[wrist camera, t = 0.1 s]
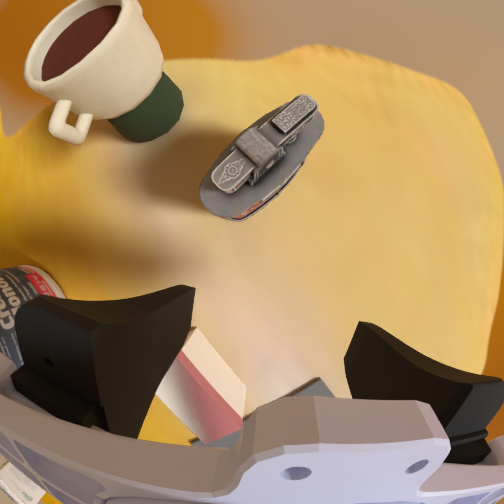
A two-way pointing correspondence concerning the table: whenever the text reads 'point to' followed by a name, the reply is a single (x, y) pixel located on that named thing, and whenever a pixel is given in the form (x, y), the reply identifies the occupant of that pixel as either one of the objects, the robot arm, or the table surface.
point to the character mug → (103, 72)
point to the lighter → (262, 160)
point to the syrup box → (19, 485)
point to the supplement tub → (20, 302)
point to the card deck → (203, 390)
